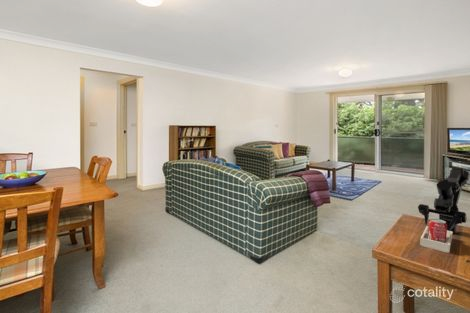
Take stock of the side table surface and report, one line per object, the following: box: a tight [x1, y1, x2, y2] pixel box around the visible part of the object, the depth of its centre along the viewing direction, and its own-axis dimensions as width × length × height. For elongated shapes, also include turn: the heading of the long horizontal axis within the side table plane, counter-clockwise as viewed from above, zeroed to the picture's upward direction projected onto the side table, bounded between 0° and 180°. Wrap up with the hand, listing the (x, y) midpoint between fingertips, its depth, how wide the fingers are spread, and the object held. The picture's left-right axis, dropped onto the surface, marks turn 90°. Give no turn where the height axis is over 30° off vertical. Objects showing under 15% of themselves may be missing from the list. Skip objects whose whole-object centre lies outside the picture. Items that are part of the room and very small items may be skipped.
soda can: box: [428, 218, 447, 243], centre depth 125 cm, size 7×7×12 cm
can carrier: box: [419, 225, 453, 254], centre depth 129 cm, size 21×11×4 cm, turn 137°
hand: (437, 227), depth 125 cm, fingers open, 9 cm apart
